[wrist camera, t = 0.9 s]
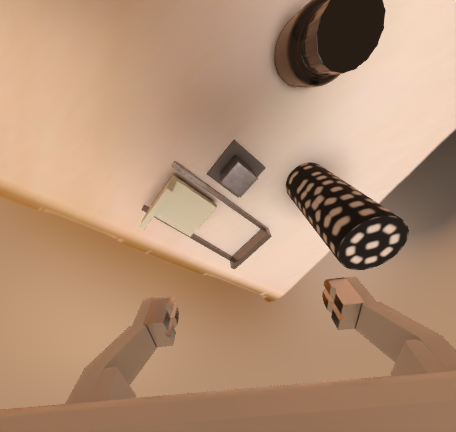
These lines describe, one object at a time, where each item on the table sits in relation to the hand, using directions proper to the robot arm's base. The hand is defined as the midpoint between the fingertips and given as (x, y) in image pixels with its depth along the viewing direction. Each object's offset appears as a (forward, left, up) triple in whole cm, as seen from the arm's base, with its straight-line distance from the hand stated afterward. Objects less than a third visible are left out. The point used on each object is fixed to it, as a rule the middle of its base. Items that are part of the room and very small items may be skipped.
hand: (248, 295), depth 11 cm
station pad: (+4, -1, -31) cm, 31 cm away
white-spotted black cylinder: (+17, +6, -31) cm, 36 cm away
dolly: (0, -13, -31) cm, 33 cm away
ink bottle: (0, +19, -31) cm, 36 cm away
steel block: (+4, -1, -30) cm, 30 cm away
